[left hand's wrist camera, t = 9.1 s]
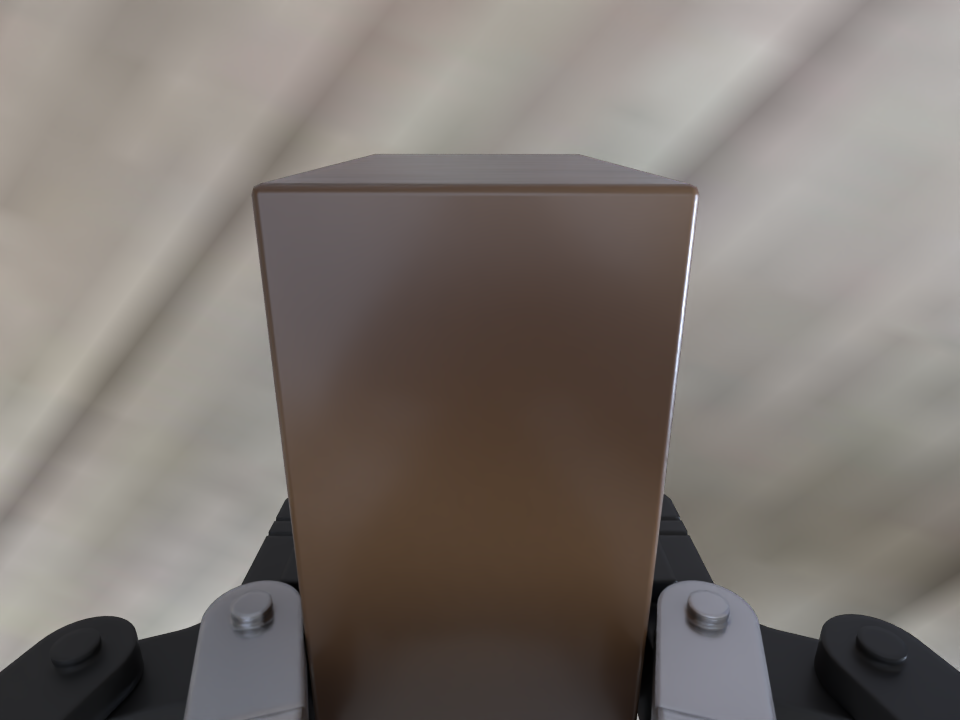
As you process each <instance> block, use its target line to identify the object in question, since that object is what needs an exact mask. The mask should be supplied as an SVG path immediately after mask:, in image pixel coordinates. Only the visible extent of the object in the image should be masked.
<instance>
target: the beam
mask: <svg viewBox="0 0 960 720" xmlns="http://www.w3.org/2000/svg"><path fill="white" fill-rule="evenodd" d="M252 202H253V210H254V219H255V227H256V235H257V243H258V252H259V260H260V268H261V276H262V285H263V293H264V301H265V310H266V318H267V326H268V334H269V343H270V351H271V359H272V367H273V376H274V384H275V392H276V400H277V409H278V417H279V425H280V434H281V442H282V450H283V458H284V467H285V475H286V483H287V491H288V500H289V508H290V516H291V524H292V533H293V541H294V549H295V558H296V566H297V574H298V582H299V591H300V599H301V607H302V615H303V624H304V632H305V640H306V649H307V657H308V665H309V673H310V682H311V690H312V698H313V706H314V715H315V720H637V712H638V704H639V696H640V687H641V679H642V671H643V662H644V654H645V646H646V637H647V629H648V620H649V612H650V604H651V595H652V587H653V579H654V570H655V562H656V553H657V545H658V537H659V528H660V520H661V512H662V503H663V495H664V486H665V478H666V470H667V461H668V453H669V445H670V436H671V428H672V420H673V411H674V403H675V394H676V386H677V378H678V369H679V361H680V353H681V344H682V336H683V327H684V319H685V311H686V302H687V294H688V286H689V277H690V269H691V261H692V252H693V244H694V235H695V227H696V219H697V210H698V202H699V192H698V189H697V187H695V186H693V185H691V184H688V183H684V182H681V181H677V180H673V179H669V178H666V177H662V176H658V175H654V174H651V173H647V172H643V171H639V170H636V169H632V168H628V167H624V166H621V165H617V164H613V163H609V162H606V161H602V160H598V159H594V158H591V157H587V156H583V155H579V154H373V155H369V156H366V157H362V158H358V159H354V160H350V161H346V162H342V163H338V164H334V165H330V166H327V167H323V168H319V169H315V170H311V171H307V172H303V173H299V174H295V175H291V176H288V177H284V178H280V179H276V180H272V181H268V182H264V183H261V184H258V185H256V186H254V188H253V191H252Z"/></svg>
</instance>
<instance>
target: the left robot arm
mask: <svg viewBox="0 0 960 720" xmlns="http://www.w3.org/2000/svg"><path fill="white" fill-rule="evenodd" d="M637 713H638V716H639V720H960V672H959V671H958V670H956V669H955V668H954V667H953V666H951V665H950V664H949V663H947V662H946V661H945V660H944V659H942V658H941V657H940V656H938V655H937V654H936V653H935V652H933V651H932V650H931V649H930V648H928V647H927V646H926V645H924V644H923V643H922V642H921V641H919V640H918V639H917V638H915V637H914V636H912V635H911V634H910V633H908V632H906V631H904V630H903V629H901V628H899V627H897V626H895V625H893V624H891V623H888V622H886V621H883V620H880V619H877V618H873V617H869V616H864V615H856V614H845V615H839V616H835V617H833V618H831V619H829V620H828V621H827V622H826V623H825V624H824V625H823V627H822V630H821V634H820V639H819V640H818V639H814V638H809V637H805V636H801V635H797V634H793V633H788V632H784V631H780V630H776V629H772V628H769V627H766V626H763V625H761V624H759V621H758V618H757V615H756V614H755V612H754V610H753V609H752V608H751V606H750V605H749V604H748V603H747V602H746V601H745V600H744V599H743V598H741V597H740V596H738V595H737V594H736V593H734V592H732V591H730V590H728V589H726V588H724V587H722V586H719V585H716V584H714V583H713V581H712V579H711V577H710V575H709V573H708V571H707V569H706V567H705V565H704V563H703V561H702V559H701V557H700V556H699V554H698V552H697V550H696V548H695V546H694V544H693V542H692V540H691V538H690V536H689V535H687V530H686V528H685V526H684V524H683V522H682V521H680V516H679V514H678V512H677V511H676V509H675V507H674V505H673V503H672V501H671V499H670V498H668V497H667V496H666V495H665V494H664V495H663V503H662V512H661V520H660V528H659V537H658V545H657V553H656V562H655V570H654V579H653V587H652V595H651V604H650V612H649V620H648V629H647V637H646V646H645V654H644V662H643V671H642V679H641V687H640V696H639V704H638V712H637ZM0 720H315V715H314V706H313V698H312V690H311V682H310V673H309V665H308V657H307V649H306V640H305V632H304V624H303V615H302V607H301V599H300V591H299V582H298V574H297V566H296V558H295V549H294V541H293V533H292V524H291V516H290V508H289V500H288V498H287V499H286V500H285V502H284V504H283V506H282V508H281V509H280V511H279V513H278V515H277V517H276V521H274V523H273V525H272V527H271V529H270V531H269V535H268V536H266V538H265V540H264V542H263V544H262V546H261V548H260V550H259V552H258V554H257V556H256V558H255V560H254V561H253V563H252V565H251V567H250V569H249V571H248V573H247V575H246V577H245V579H244V581H243V583H242V585H241V586H238V587H236V588H234V589H232V590H230V591H228V592H226V593H224V594H223V595H221V596H220V597H219V598H217V599H216V600H215V601H214V602H213V603H212V604H211V605H210V606H209V607H208V609H207V610H206V612H205V613H204V615H203V617H202V621H201V623H199V624H197V625H194V626H192V627H189V628H186V629H182V630H179V631H175V632H171V633H167V634H162V635H158V636H154V637H150V638H145V639H141V640H138V637H137V633H136V630H135V628H134V626H133V625H132V624H131V623H130V622H129V621H127V620H125V619H123V618H119V617H114V616H100V617H93V618H88V619H84V620H80V621H77V622H74V623H72V624H69V625H67V626H65V627H62V628H60V629H58V630H56V631H55V632H53V633H51V634H50V635H48V636H46V637H45V638H44V639H42V640H41V641H39V642H38V643H37V644H36V645H34V646H33V647H32V648H30V649H29V650H28V651H27V652H25V653H24V654H23V655H21V656H20V657H19V658H18V659H16V660H15V661H14V662H13V663H11V664H10V665H9V666H7V667H6V668H5V669H4V670H2V671H1V672H0Z"/></svg>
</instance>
